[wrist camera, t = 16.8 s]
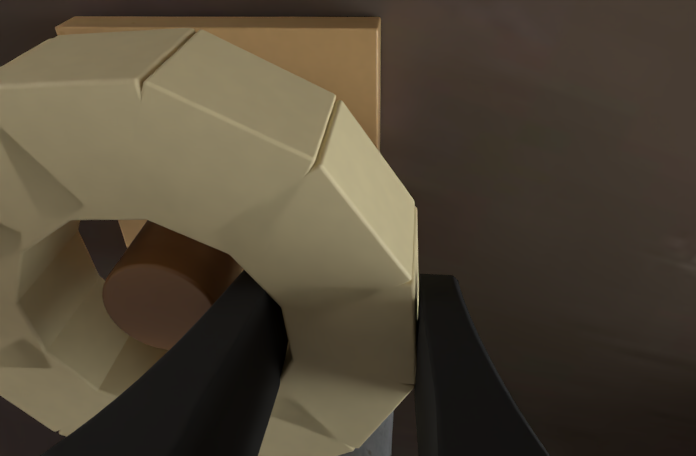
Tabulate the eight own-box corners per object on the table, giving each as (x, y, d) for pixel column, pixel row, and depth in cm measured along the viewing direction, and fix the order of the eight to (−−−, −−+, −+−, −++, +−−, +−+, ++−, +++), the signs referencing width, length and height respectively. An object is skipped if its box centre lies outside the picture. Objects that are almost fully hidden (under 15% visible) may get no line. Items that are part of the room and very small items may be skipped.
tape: (420, 401, 15) (419, 488, 13) (75, 386, 16) (28, 461, 14) (414, 13, 9) (409, 66, 7) (-123, 44, 10) (-248, 95, 8)
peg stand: (379, 267, 18) (361, 444, 13) (147, 256, 19) (42, 417, 14) (381, 16, 14) (353, 134, 8) (74, 15, 14) (-125, 122, 9)
